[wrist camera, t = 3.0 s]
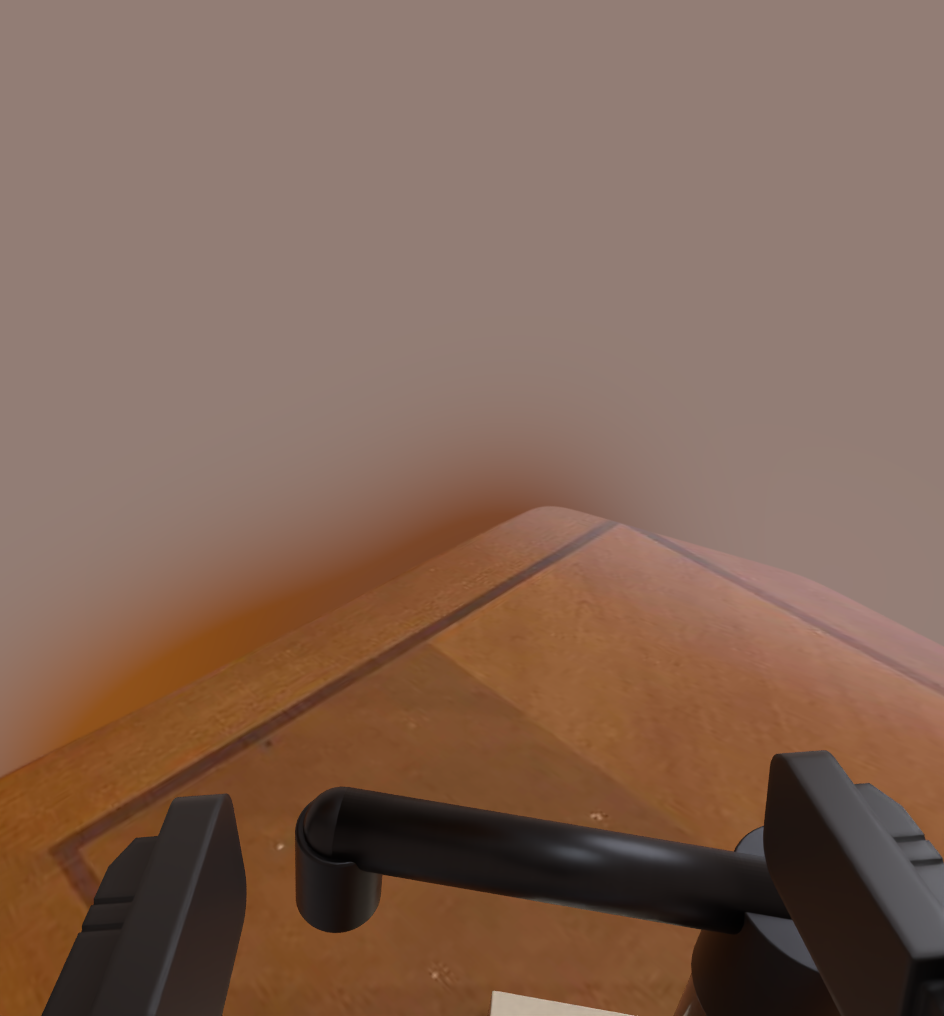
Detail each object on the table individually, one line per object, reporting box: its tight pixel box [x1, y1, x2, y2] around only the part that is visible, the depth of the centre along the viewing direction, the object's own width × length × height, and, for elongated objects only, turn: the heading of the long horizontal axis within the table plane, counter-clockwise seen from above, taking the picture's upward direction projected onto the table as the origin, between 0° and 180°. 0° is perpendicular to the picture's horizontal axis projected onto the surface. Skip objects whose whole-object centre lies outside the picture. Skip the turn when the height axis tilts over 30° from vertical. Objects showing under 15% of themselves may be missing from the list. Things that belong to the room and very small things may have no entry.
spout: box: [295, 787, 841, 1016], centre depth 23 cm, size 16×4×5 cm, turn 83°
